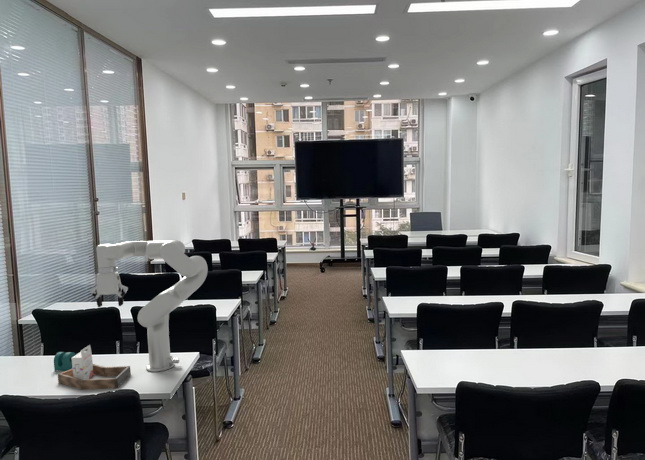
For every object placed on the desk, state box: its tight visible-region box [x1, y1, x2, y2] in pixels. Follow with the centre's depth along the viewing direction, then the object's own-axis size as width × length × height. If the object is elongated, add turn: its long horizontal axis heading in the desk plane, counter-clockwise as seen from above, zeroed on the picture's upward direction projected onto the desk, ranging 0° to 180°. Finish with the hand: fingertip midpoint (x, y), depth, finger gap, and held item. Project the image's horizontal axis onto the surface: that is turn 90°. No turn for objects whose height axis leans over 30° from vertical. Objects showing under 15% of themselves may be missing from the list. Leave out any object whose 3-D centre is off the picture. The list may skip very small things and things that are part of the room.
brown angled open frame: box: [57, 363, 132, 391], centre depth 204 cm, size 30×21×4 cm
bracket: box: [53, 351, 77, 372], centre depth 225 cm, size 18×7×8 cm, turn 171°
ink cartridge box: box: [71, 344, 95, 380], centre depth 205 cm, size 9×5×15 cm, turn 0°
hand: (110, 306), depth 215 cm, fingers open, 9 cm apart
